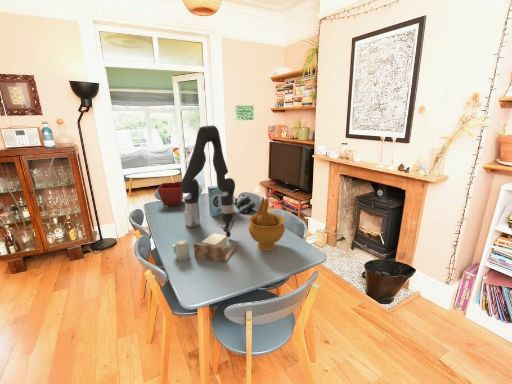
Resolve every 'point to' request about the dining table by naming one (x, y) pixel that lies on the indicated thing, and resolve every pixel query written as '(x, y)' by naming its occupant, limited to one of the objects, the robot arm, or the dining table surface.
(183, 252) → the sage mug
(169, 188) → the plant pot
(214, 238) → the cream carton
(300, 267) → the dining table surface
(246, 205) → the dark grey rounded lump
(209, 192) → the gum box
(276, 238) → the mortar and pestle
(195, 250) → the display bay
